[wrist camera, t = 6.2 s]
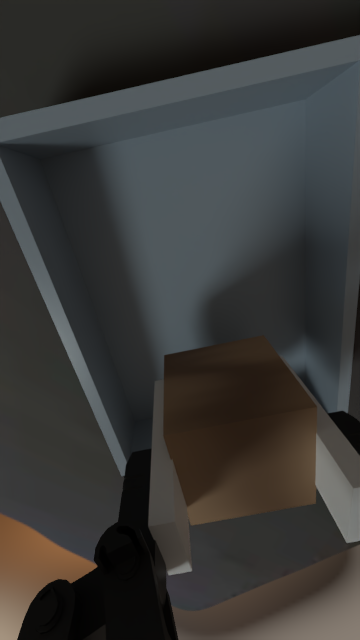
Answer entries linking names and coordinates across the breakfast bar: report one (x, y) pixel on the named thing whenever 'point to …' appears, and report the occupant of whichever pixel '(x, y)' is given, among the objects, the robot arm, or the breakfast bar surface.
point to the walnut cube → (238, 430)
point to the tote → (195, 224)
